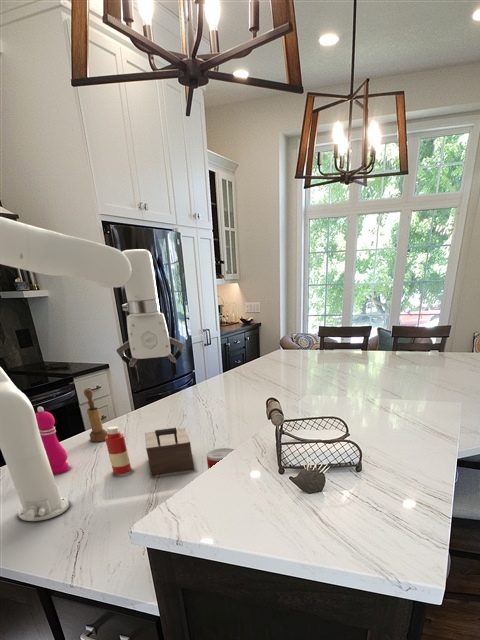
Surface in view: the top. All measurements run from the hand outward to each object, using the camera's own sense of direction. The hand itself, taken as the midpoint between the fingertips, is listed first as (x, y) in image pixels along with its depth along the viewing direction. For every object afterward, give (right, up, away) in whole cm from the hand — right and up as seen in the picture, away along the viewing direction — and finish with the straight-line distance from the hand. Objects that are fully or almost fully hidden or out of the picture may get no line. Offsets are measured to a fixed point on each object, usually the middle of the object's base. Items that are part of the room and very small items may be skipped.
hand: (155, 379), depth 127 cm
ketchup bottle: (-14, -22, +17) cm, 31 cm away
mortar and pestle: (-31, -4, +48) cm, 57 cm away
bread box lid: (0, -13, +15) cm, 19 cm away
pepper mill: (-36, -20, +23) cm, 47 cm away
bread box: (+1, -20, +20) cm, 28 cm away
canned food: (+19, -30, +1) cm, 36 cm away
